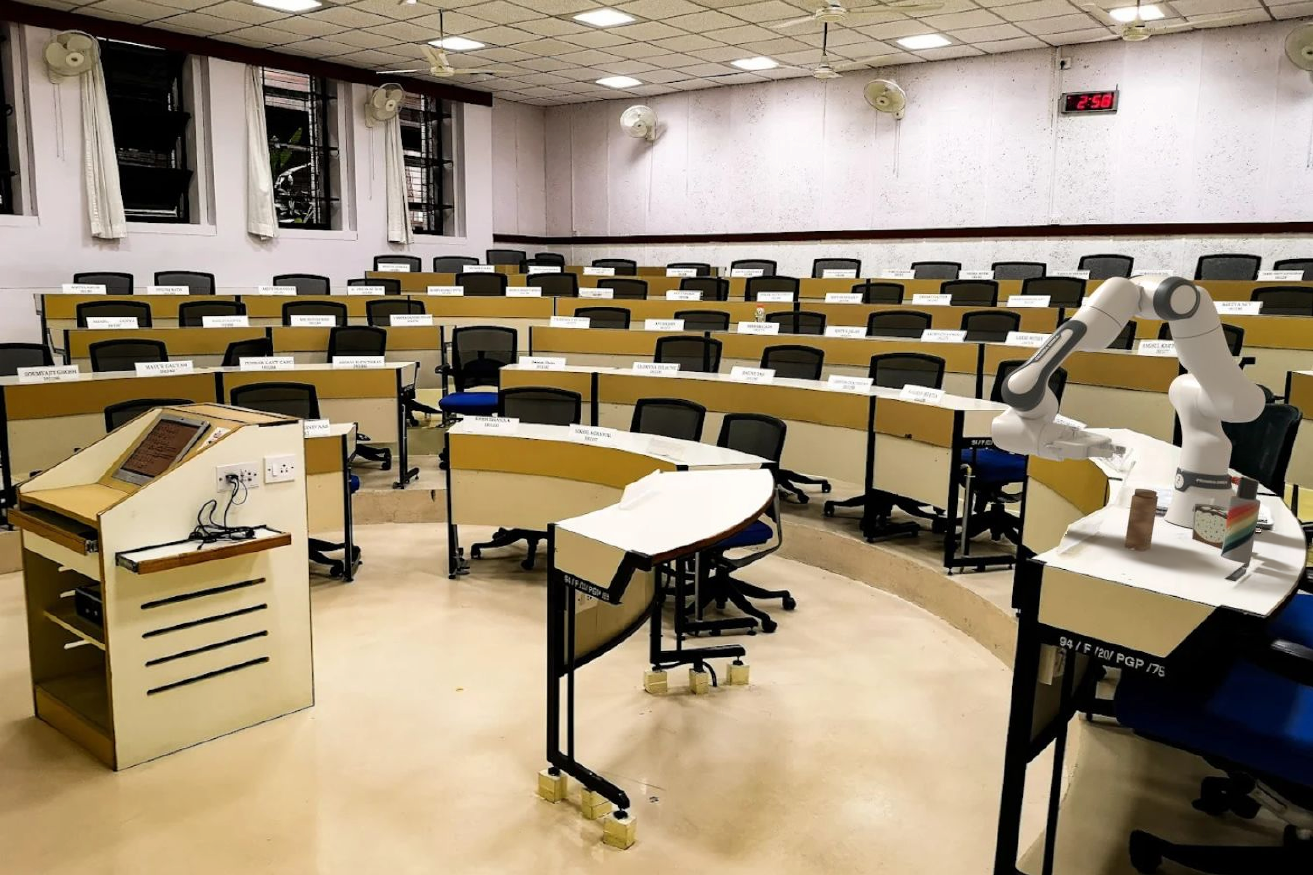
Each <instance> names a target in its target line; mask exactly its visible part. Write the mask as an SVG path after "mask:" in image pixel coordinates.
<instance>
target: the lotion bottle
mask: <svg viewBox="0 0 1313 875" xmlns="http://www.w3.org/2000/svg"><path fill="white" fill-rule="evenodd" d="M1259 484H1260V481H1259V480H1257V479H1255V478H1252V477H1250V476H1249V477H1248V476H1243V475H1242V476H1240V477H1239V482H1238V485H1237V489H1236V493H1237V496H1232V497H1231V500H1230V505H1229V511H1228V517H1227V523H1226V529H1225V534H1224V540H1223V546H1222V549H1221V554H1220V557H1221V558H1224V559H1226V560H1230V561H1233V562H1239V563H1244V564H1242V565H1241V566H1240V567H1239V568H1245V569H1247V568H1249V567H1250V563H1251V558H1252V555H1253V554H1252V553H1253V550H1254V549H1253V548H1254V542H1255V537H1256V533H1255V532H1256V526H1257V525H1258V521H1259V520H1258V519H1259V515H1260V514H1259V513H1260V508H1261V500H1260V499H1257V495H1258V490H1259Z"/></svg>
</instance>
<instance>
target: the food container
mask: <svg viewBox="0 0 1313 875" xmlns="http://www.w3.org/2000/svg"><path fill="white" fill-rule="evenodd" d="M1228 511H1229V508H1227V507H1222V506H1217V505H1210V504H1195V505H1194V506H1193V509H1192V512H1194V518H1193V528H1192V534H1191V539H1192V540H1193V541H1196V542H1199V543H1202V544H1205V545H1209V546H1211V547H1214V548H1215V549H1220V550H1222V546H1223V540H1224V534H1225V529H1226V523H1227V517H1228Z"/></svg>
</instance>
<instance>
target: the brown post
mask: <svg viewBox="0 0 1313 875" xmlns="http://www.w3.org/2000/svg"><path fill="white" fill-rule="evenodd" d="M1157 495H1158V492H1157V491H1155V490H1154V489H1153V490H1152V489H1146V488H1135V489H1134V494H1132V495H1131V502H1130V509H1129V515H1128V522H1127V528H1126V535H1125V540H1124V548H1128V549H1129V550H1130V551H1135V550H1137V551H1142V552H1144V551H1146V550H1148V549H1150V548H1151V545H1152V538H1153V532H1154V526H1155V524H1154V523H1155V519H1156V513H1157V507H1158V499H1159V495H1158V496H1157Z"/></svg>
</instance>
